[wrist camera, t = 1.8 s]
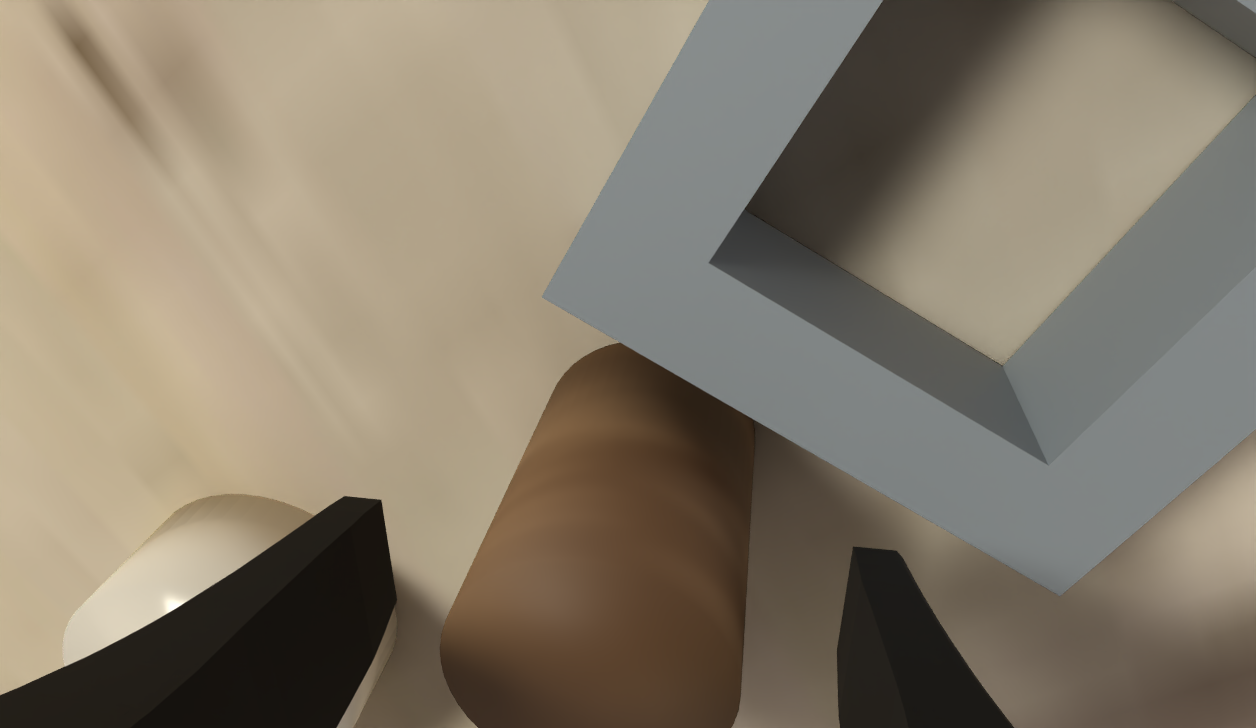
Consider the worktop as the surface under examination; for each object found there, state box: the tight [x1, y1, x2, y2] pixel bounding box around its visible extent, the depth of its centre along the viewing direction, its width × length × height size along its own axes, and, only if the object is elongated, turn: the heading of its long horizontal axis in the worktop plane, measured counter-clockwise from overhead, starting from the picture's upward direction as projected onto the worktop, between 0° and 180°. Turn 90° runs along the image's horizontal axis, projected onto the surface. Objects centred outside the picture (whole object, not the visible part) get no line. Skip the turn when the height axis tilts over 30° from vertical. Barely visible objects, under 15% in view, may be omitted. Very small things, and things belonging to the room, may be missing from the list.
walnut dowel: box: [440, 343, 755, 728], centre depth 14 cm, size 4×4×6 cm
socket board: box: [542, 0, 1256, 596], centre depth 12 cm, size 9×9×3 cm
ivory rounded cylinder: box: [63, 494, 397, 728], centre depth 19 cm, size 6×6×3 cm
